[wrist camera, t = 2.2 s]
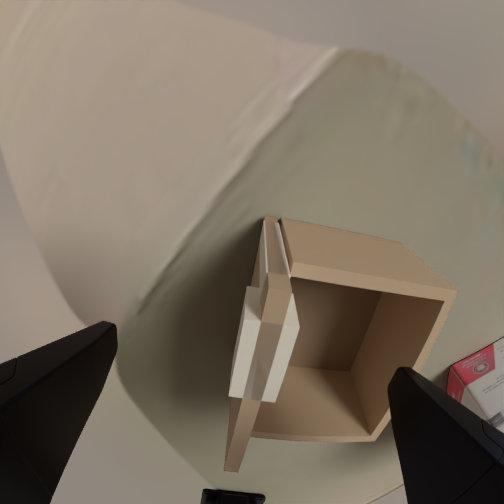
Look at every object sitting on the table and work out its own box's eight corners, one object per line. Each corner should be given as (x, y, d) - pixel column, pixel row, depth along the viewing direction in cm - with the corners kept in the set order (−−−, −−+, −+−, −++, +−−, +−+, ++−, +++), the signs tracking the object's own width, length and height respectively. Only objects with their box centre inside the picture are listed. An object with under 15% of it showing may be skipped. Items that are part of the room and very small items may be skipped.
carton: (351, 371, 19) (374, 441, 13) (249, 360, 19) (245, 436, 13) (401, 243, 16) (458, 290, 10) (281, 217, 16) (293, 261, 10)
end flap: (252, 362, 18) (248, 473, 11) (228, 359, 18) (213, 469, 11) (285, 219, 15) (309, 294, 8) (255, 213, 15) (251, 284, 8)
